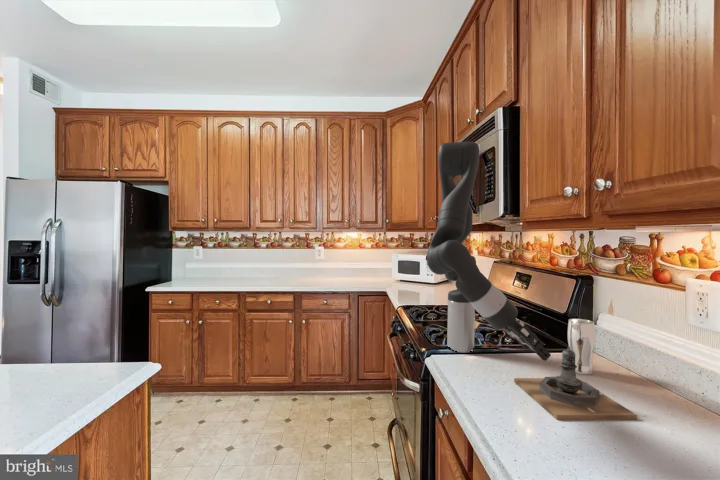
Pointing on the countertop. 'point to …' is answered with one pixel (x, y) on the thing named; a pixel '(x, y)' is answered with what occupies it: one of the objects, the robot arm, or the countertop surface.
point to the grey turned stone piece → (568, 374)
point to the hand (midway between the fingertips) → (537, 351)
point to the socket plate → (575, 411)
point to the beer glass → (581, 343)
